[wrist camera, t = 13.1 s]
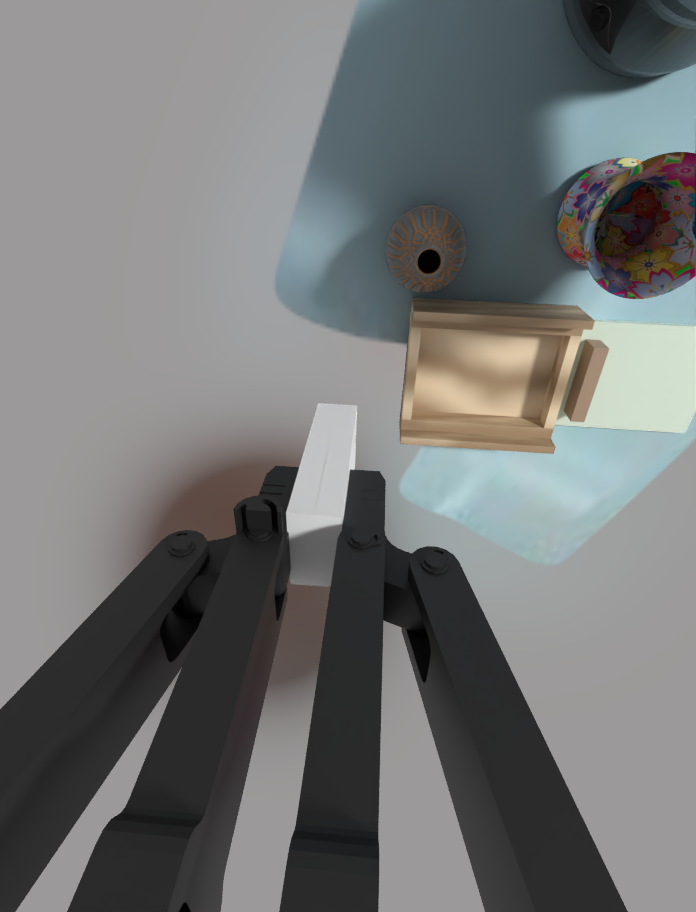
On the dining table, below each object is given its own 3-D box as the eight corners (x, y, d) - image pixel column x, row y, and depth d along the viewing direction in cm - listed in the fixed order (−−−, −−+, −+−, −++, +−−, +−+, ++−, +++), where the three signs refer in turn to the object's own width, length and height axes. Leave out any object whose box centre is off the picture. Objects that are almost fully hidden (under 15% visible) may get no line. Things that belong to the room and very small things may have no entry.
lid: (576, 316, 48) (588, 328, 45) (727, 324, 47) (751, 337, 44) (546, 419, 54) (555, 435, 51) (679, 427, 53) (696, 444, 50)
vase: (373, 262, 46) (370, 284, 38) (407, 187, 42) (410, 195, 35) (437, 293, 47) (445, 320, 40) (475, 222, 43) (492, 238, 36)
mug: (536, 264, 45) (567, 292, 36) (568, 147, 40) (614, 145, 31) (667, 277, 44) (732, 309, 35) (717, 160, 39) (807, 162, 30)
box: (412, 297, 47) (414, 311, 43) (577, 305, 46) (595, 321, 42) (399, 421, 55) (400, 443, 51) (541, 430, 54) (553, 453, 50)
